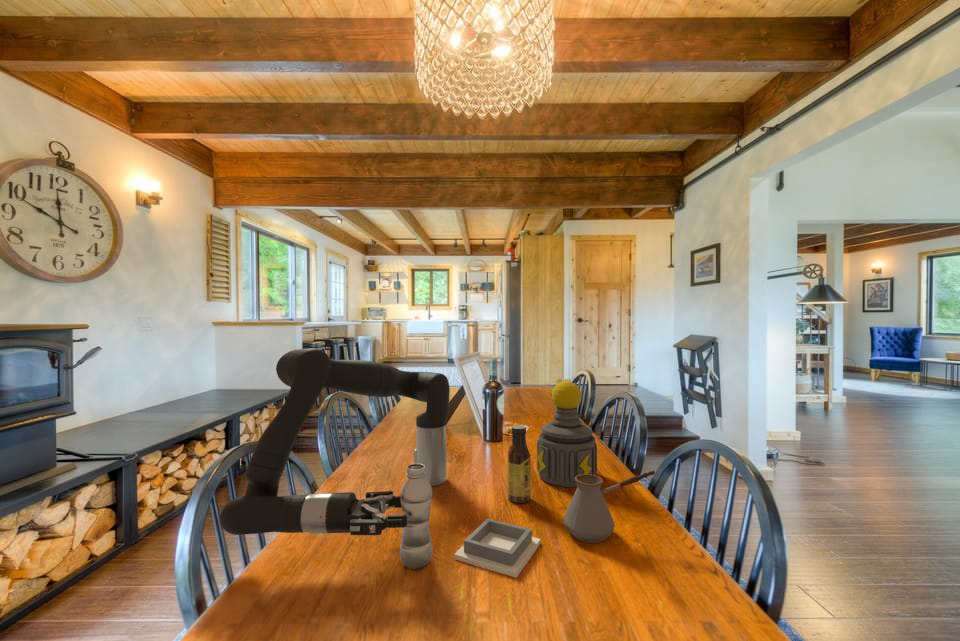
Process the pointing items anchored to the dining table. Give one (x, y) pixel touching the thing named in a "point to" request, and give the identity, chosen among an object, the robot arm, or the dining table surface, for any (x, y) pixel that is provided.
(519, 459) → the sauce bottle
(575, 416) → the decorative lamp
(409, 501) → the plastic bottle
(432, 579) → the dining table surface
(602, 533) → the coffee pot
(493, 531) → the bottle holder
